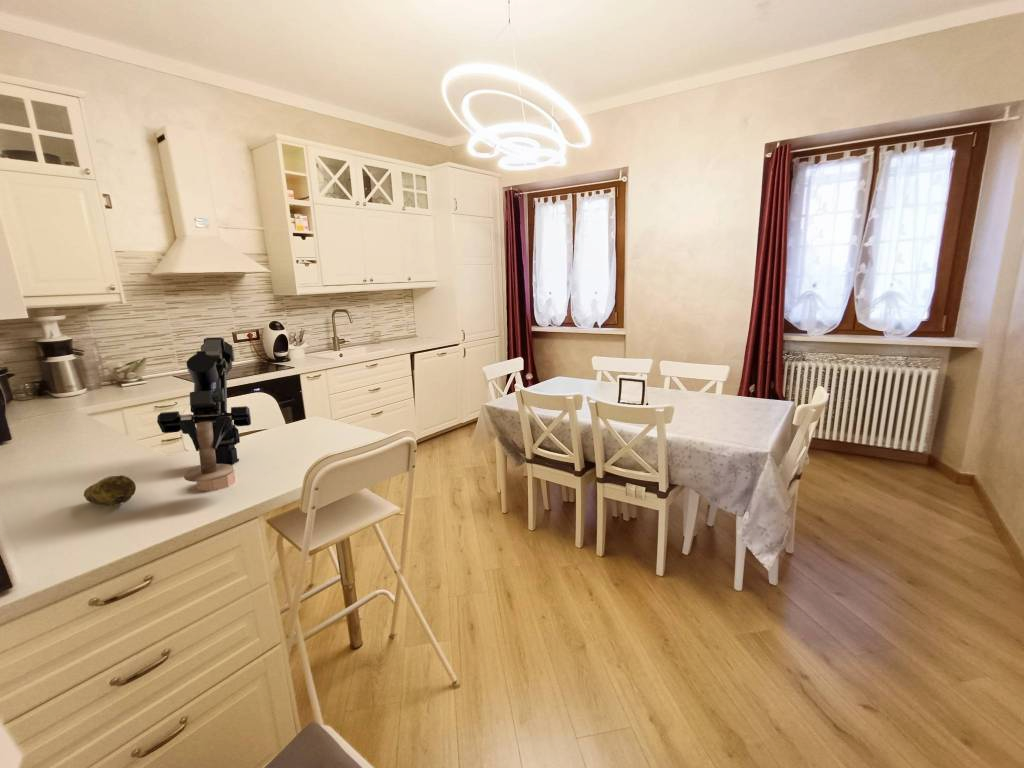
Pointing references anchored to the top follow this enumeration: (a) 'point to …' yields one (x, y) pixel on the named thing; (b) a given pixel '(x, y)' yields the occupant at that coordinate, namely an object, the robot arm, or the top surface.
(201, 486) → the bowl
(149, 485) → the top surface
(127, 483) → the avocado
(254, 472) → the top surface
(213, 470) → the peg on round base
